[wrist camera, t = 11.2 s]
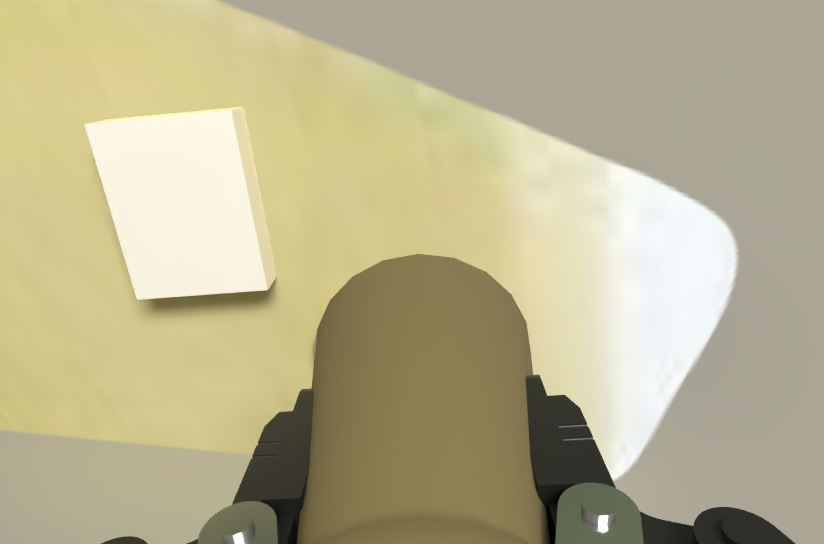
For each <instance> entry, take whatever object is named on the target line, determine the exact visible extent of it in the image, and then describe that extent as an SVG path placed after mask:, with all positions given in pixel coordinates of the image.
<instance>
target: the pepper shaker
mask: <svg viewBox="0 0 824 544" xmlns="http://www.w3.org/2000/svg"><path fill="white" fill-rule="evenodd" d="M527 375H533V370H532V361H531V352H530V345H529V338H528V331H527V324H526V321H525V319H524V317H523V315H522V313H521V312H520V310H519V308H518V306H517V304H516V302H515V301H514V299H513V297H512V295H511V294H510V293H509V292H508V291H507V290H506V289H505V288H503V287H502V286H501V285H500V284H499V283H498V282H497V281H496V280H494V279H493V278H492V277H491V276H490V275H489V274H488V273H487V272H485V271H482V270H480V269H478V268H476V267H473V266H471V265H469V264H467V263H464V262H462V261H460V260H458V259H455V258H449V257H440V256H432V255H423V254H416V255H410V256H405V257H399V258H394V259H389V260H383V261H381V262H379V263H378V264H376V265H374V266H372V267H370V268H368V269H366V270H364V271H362V272H361V273H359V274H357V275H355V276H353V277H352V278H351V279H350V280H349V281H348V282H347V283H346V284H345V285H344V286H343V287H342V288H341V289H340V290H339V292H338V293H337V294H336V295H335V296H334V297H333V298H332V299H331V300H330V302H329V304H328V306H327V308H326V311H325V313H324V315H323V317H322V320H321V322H320V324H319V326H318V329H317V339H316V349H315V360H314V370H313V380H312V389H314V401H313V417H312V433H311V449H310V465H309V472H308V478H307V484H306V490H305V496H304V502H303V508H302V510H301V512H300V516H299V526H298V537H297V544H551V542H550V534H549V526H548V520H547V513H546V508H545V506H544V505H543V503H542V501H541V500H540V498H539V497H538V493H537V488H536V483H535V478H534V473H533V468H532V463H531V458H530V444H529V427H528V411H527V394H526V376H527Z"/></svg>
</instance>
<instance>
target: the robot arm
mask: <svg viewBox="0 0 824 544" xmlns="http://www.w3.org/2000/svg"><path fill="white" fill-rule="evenodd" d="M526 394H527V411H528V427H529V444H530V458H531V463H532V468H533V473H534V478H535V483H536V488H537V493H538V497H539V498H540V500H541V501H542V503H543V505H544V506H545V508H546V513H547V520H548V526H549V534H550V542H551V544H795V543H794V542H793V541H792V540H790V539H789V538H788V537H787V536H786V535H784V534H783V533H782V532H781V531H780V530H778V529H777V528H776V527H775V526H773V525H772V524H771V523H769V522H768V521H766V520H764V519H763V518H761V517H759V516H757V515H755V514H753V513H750V512H747V511H745V510H740V509H736V508H730V507H717V508H711V509H708V510H706V511H703V512H702V513H701V514H699V515H698V517H697V518H696V520H695V522H694V526H690V525H685V524H680V523H675V522H670V521H665V520H661V519H657V518H654V517H651V516H648V515H646V514H644V513H642V512H640V511H639V509H638V507H637V505H636V504H635V503H634V501H633V500H632V499H631V498H630V497H629V496H627V495H626V494H625V493H623V492H622V491H620V490H618V489H616V487H615V485H614V483H613V481H612V478H611V476H610V474H609V472H608V469H607V467H606V465H605V463H604V460H603V458H602V456H601V454H600V452H599V449H598V447H597V445H596V443H595V440H593V436H592V434H591V432H590V429H589V427H587V423H586V420H585V418H584V416H583V414H582V411H581V409H580V408H579V407H578V406H577V405H576V404H575V403H574V402H572V401H571V400H570V399H569V398H568V397H566V396H565V395H555V396H547V394H546V391H545V389H544V386H543V383H542V380H541V378H540V376H539V375H527V376H526ZM313 401H314V389H302V390H301V391H300V393H299V396H298V398H297V401H296V404H295V407H294V410H293V411H289V412H279V413H278V414H277V415H276V416H275V417H274V418H273V419H272V420H271V421H270V422H269V423H268V424H267V425H266V426H265V427H264V429H263V432H262V434H261V437H260V439H259V441H258V446H256V448H255V451H254V453H253V458H252V459H251V460H250V463H249V465H248V468H247V470H246V472H245V475H244V477H243V479H242V482H241V484H240V487H239V489H238V492H237V494H236V496H235V499H234V501H233V504H232V505H231V506H228V507H226V508H224V509H222V510H221V511H219V512H218V513H216V514H215V515H214V516H213V517H211V518H210V519H209V520H208V521H207V522H206V524H205V525H204V527H203V528H202V530H201V532H200V534H199V538H198V539H197V540H195V541H193V542H190V543H188V544H297V537H298V526H299V516H300V512H301V510H302V508H303V502H304V496H305V490H306V484H307V478H308V472H309V465H310V449H311V433H312V417H313ZM102 544H147V543H146V542H145V541H144V540H142V539H140V538H137V537H119V538H115V539H112V540H109V541H106V542H104V543H102Z"/></svg>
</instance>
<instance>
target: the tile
mask: <svg viewBox="0 0 824 544" xmlns="http://www.w3.org/2000/svg"><path fill="white" fill-rule="evenodd" d="M85 128H86V131H87V134H88V138H89V141H90V144H91V148H92V151H93V155H94V158H95V161H96V165H97V168H98V171H99V175H100V178H101V181H102V185H103V188H104V191H105V195H106V198H107V201H108V205H109V208H110V211H111V215H112V218H113V221H114V225H115V228H116V231H117V235H118V238H119V241H120V245H121V248H122V251H123V255H124V258H125V261H126V265H127V268H128V271H129V275H130V278H131V281H132V285H133V288H134V291H135V295H136V298H137V300H141V299H154V298H168V297H181V296H195V295H209V294H222V293H236V292H249V291H263V290H268V289H269V288H270V286H271V285H272V283H273V282H274V280H275V279H276V277H277V276H276V271H275V266H274V260H273V255H272V250H271V245H270V240H269V235H268V230H267V224H266V219H265V214H264V209H263V204H262V199H261V194H260V188H259V183H258V178H257V173H256V168H255V163H254V158H253V152H252V147H251V142H250V137H249V132H248V127H247V122H246V116H245V111H244V107H235V108H225V109H214V110H203V111H193V112H182V113H171V114H161V115H150V116H139V117H129V118H118V119H107V120H102V121H97V122H93V123H88V124H85Z"/></svg>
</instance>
